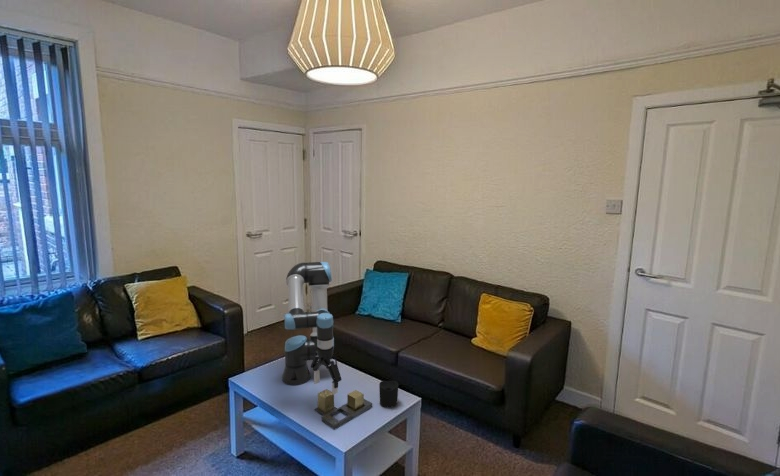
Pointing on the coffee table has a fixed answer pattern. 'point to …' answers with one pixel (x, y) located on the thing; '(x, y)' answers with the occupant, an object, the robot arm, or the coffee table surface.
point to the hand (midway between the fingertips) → (325, 388)
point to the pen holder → (388, 393)
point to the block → (355, 400)
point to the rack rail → (346, 411)
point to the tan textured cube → (325, 401)
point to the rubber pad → (323, 412)
